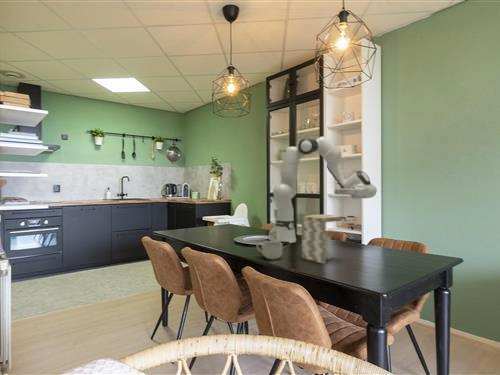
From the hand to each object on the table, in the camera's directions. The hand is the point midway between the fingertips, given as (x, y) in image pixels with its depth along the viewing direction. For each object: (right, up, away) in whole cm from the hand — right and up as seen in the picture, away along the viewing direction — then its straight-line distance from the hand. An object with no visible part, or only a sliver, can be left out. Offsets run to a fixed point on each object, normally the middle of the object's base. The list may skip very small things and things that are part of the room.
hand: (341, 192), depth 179 cm
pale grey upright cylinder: (-15, -34, -20) cm, 42 cm away
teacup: (-43, -35, -19) cm, 59 cm away
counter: (-17, -34, -21) cm, 44 cm away
